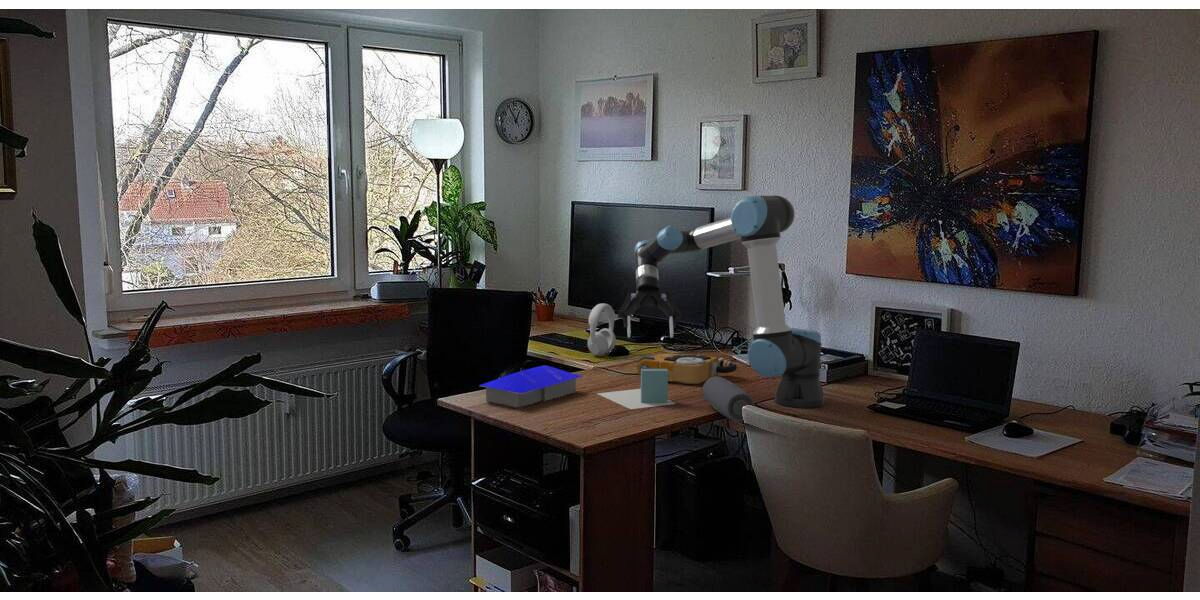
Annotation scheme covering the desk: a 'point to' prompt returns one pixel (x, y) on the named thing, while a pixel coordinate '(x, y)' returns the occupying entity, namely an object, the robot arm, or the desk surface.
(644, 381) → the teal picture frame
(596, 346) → the headphones
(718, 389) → the bluetooth speaker
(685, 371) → the device
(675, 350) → the desk surface
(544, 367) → the blue topped grey box
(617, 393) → the mat
